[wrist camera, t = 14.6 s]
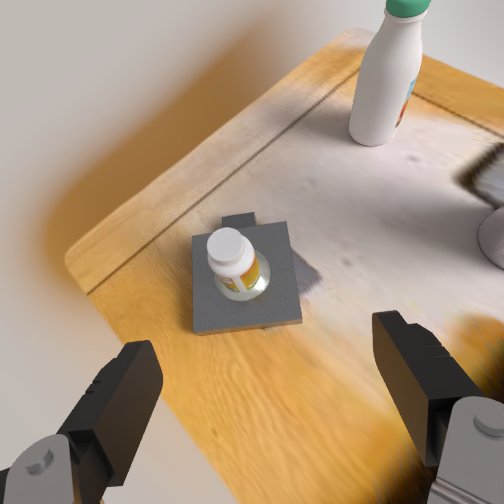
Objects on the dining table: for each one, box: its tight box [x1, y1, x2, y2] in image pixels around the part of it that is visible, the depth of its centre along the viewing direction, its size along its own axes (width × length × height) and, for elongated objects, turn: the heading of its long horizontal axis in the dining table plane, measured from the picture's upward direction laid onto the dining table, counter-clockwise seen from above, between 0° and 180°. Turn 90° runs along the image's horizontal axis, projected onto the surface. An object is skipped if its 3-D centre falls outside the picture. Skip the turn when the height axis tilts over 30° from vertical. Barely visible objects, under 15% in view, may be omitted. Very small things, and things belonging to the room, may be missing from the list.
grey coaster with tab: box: [192, 212, 302, 336], centre depth 42 cm, size 17×14×3 cm
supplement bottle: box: [207, 227, 261, 293], centre depth 35 cm, size 5×5×10 cm
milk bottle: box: [349, 0, 431, 146], centre depth 41 cm, size 8×8×20 cm
